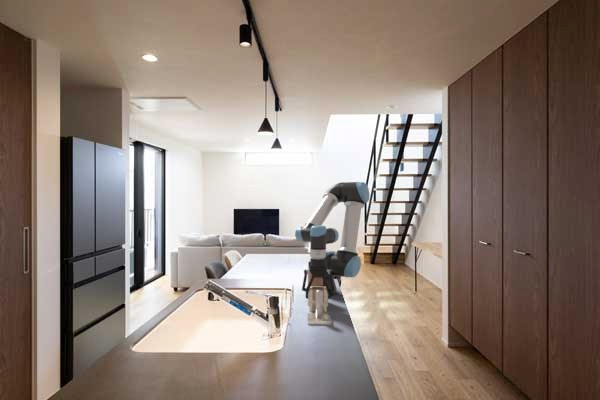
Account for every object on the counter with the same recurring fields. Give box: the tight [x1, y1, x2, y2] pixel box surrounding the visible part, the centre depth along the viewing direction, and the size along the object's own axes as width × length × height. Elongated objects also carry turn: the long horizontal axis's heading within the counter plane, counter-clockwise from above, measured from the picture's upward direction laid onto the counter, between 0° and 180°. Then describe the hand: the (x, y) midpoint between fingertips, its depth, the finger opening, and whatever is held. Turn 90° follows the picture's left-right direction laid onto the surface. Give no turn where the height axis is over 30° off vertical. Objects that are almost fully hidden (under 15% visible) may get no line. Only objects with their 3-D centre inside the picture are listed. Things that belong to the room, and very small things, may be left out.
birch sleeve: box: [308, 286, 328, 313], centre depth 175 cm, size 8×8×10 cm
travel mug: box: [307, 261, 323, 291], centre depth 190 cm, size 8×8×20 cm
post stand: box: [307, 290, 333, 326], centre depth 158 cm, size 10×10×13 cm
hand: (317, 305), depth 175 cm, fingers closed on birch sleeve, 8 cm apart
